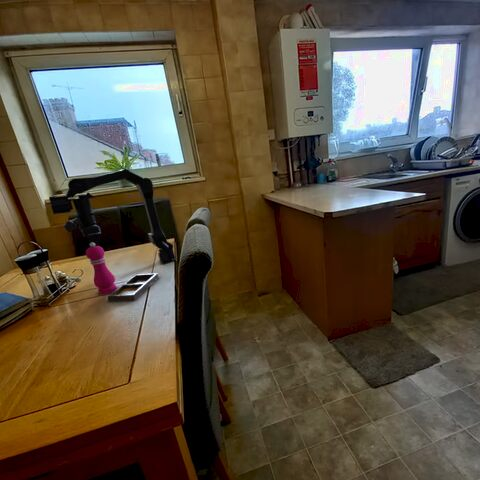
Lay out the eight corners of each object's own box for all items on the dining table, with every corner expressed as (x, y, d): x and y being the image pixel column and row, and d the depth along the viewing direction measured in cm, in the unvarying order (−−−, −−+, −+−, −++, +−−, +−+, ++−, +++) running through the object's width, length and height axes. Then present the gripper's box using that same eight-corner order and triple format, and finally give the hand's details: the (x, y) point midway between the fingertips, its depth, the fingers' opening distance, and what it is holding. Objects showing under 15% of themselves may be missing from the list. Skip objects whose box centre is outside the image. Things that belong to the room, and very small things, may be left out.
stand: (158, 277, 117) (157, 273, 116) (134, 300, 99) (133, 294, 98) (136, 279, 118) (134, 274, 117) (108, 301, 100) (106, 296, 99)
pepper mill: (122, 287, 111) (106, 239, 104) (107, 295, 105) (90, 245, 98) (108, 286, 114) (92, 239, 107) (93, 294, 107) (75, 245, 100)
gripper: (60, 212, 115) (72, 247, 121) (60, 216, 101) (74, 257, 106) (90, 207, 121) (100, 242, 126) (95, 211, 107) (106, 250, 112)
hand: (95, 247), depth 118 cm, fingers open, 9 cm apart
